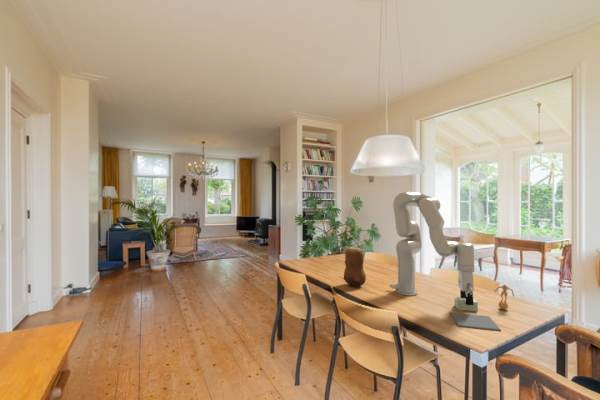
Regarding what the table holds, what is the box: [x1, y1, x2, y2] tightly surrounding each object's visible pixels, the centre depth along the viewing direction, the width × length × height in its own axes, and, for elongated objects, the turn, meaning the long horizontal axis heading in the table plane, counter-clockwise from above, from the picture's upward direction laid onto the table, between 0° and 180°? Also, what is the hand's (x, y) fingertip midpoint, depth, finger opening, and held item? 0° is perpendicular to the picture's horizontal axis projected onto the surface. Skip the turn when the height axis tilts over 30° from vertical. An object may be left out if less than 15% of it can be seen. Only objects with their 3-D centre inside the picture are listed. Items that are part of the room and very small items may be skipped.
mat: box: [450, 312, 502, 332], centre depth 126 cm, size 16×14×1 cm
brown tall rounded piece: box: [343, 246, 367, 288], centre depth 181 cm, size 14×13×25 cm
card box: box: [454, 296, 479, 312], centre depth 142 cm, size 9×6×4 cm, turn 75°
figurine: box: [494, 284, 515, 310], centre depth 141 cm, size 8×6×12 cm
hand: (466, 301), depth 142 cm, fingers open, 9 cm apart
